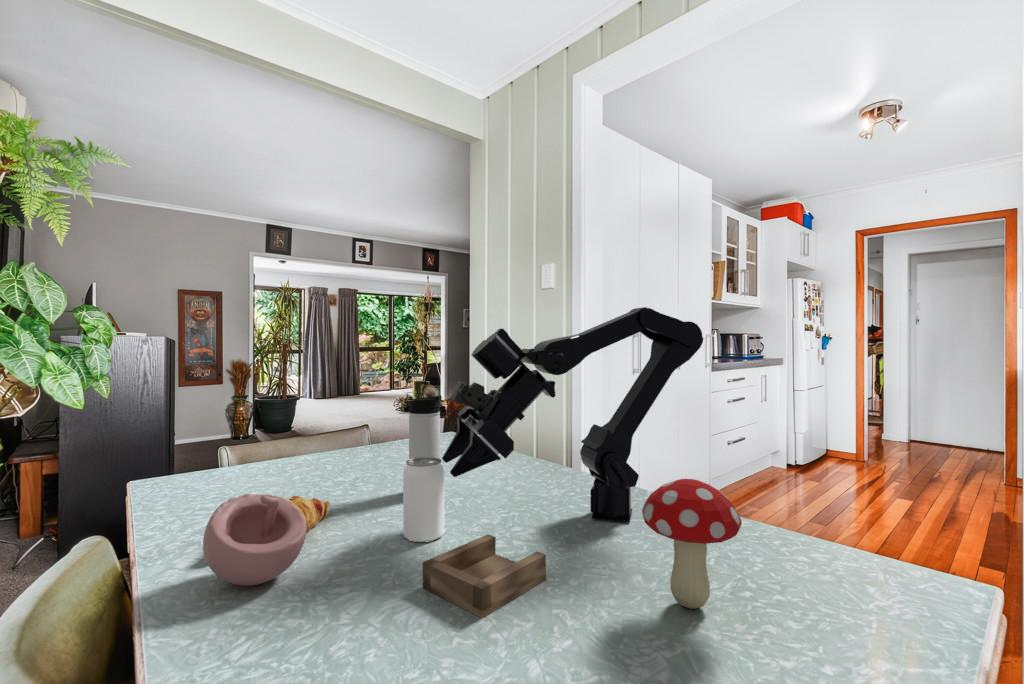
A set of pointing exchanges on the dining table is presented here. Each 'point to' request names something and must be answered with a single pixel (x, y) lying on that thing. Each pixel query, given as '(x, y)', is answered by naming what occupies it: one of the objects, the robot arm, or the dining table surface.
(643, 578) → the dining table surface
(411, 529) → the can
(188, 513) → the dining table surface
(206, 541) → the mortar and pestle
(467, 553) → the cradle
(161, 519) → the dining table surface
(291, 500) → the croissant
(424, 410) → the travel mug
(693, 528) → the decorative mushroom
